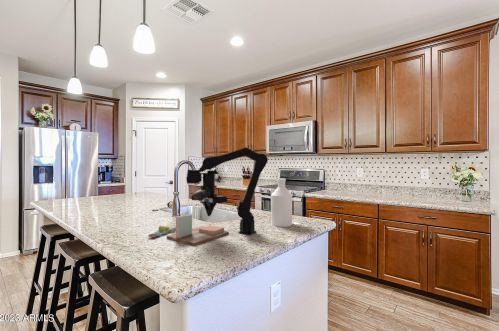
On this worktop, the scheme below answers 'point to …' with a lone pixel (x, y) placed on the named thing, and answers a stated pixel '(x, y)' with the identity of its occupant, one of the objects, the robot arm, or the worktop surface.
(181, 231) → the tile
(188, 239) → the board
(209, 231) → the tile
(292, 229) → the worktop surface
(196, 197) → the robot arm
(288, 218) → the bottle
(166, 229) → the flamethrower
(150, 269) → the worktop surface
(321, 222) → the worktop surface
